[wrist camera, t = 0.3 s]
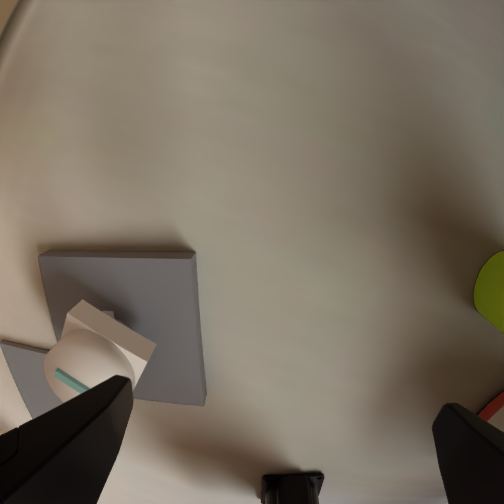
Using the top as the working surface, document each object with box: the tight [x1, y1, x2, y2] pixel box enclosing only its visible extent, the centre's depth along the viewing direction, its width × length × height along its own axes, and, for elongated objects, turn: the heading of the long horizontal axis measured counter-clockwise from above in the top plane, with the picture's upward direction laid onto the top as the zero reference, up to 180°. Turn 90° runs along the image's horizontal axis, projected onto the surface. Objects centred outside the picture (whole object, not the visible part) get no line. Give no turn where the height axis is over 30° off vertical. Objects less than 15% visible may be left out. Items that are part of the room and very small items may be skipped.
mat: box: [0, 340, 63, 419], centre depth 25 cm, size 11×11×1 cm
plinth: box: [38, 251, 207, 406], centre depth 20 cm, size 12×12×6 cm
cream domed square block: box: [44, 299, 157, 403], centre depth 18 cm, size 6×6×4 cm
